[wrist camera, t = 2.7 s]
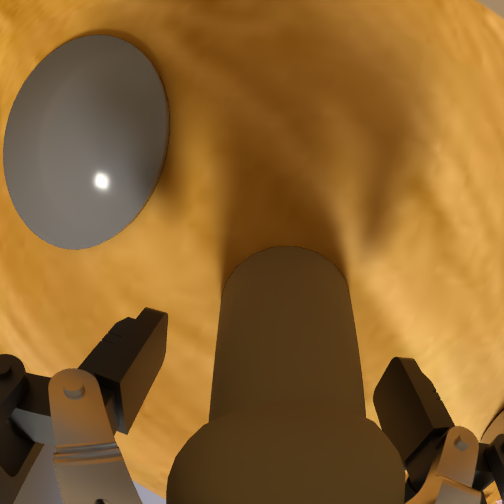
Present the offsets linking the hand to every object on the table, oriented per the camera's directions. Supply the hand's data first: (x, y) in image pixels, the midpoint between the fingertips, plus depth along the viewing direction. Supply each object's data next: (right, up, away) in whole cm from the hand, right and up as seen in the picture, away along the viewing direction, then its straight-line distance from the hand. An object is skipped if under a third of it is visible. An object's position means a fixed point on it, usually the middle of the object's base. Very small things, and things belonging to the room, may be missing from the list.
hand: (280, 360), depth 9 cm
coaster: (-10, +9, +2) cm, 14 cm away
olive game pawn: (+1, +1, +4) cm, 4 cm away
